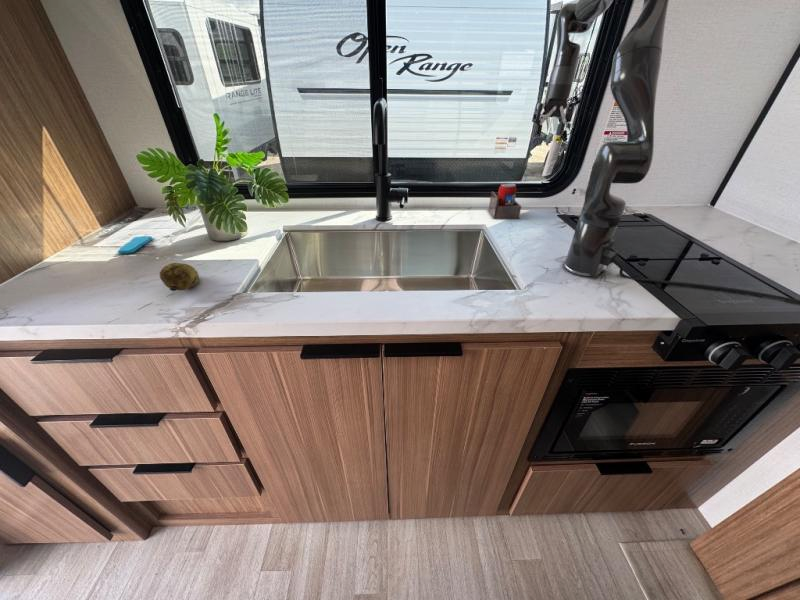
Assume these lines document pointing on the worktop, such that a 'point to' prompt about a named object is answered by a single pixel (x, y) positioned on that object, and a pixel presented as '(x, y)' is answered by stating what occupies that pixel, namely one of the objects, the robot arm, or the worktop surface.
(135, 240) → the sponge
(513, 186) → the beverage can
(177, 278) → the potato
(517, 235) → the worktop surface
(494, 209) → the box
